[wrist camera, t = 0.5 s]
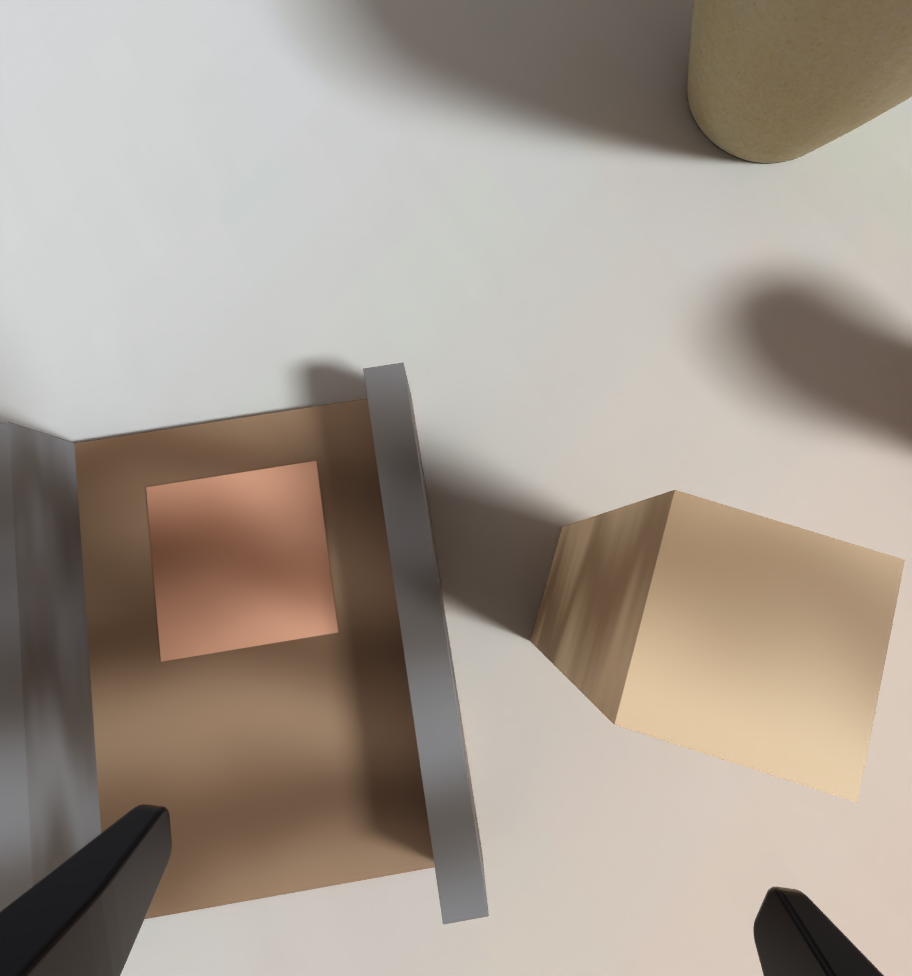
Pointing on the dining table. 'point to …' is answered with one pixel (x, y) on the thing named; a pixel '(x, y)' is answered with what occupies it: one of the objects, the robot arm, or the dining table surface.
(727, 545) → the oak block
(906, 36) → the plant pot
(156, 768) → the bay
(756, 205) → the dining table surface
